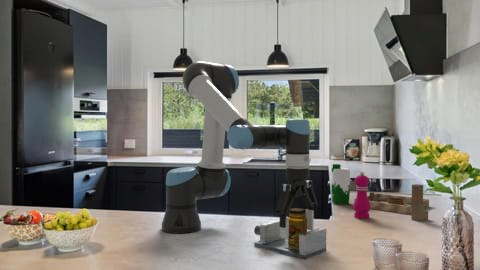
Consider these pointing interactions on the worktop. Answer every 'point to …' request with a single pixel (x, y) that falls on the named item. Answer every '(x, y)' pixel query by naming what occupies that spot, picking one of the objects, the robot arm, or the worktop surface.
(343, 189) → the milk carton
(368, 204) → the pepper mill
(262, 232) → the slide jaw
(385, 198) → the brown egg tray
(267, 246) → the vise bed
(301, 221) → the condiment
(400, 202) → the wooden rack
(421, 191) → the wooden block
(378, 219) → the worktop surface
